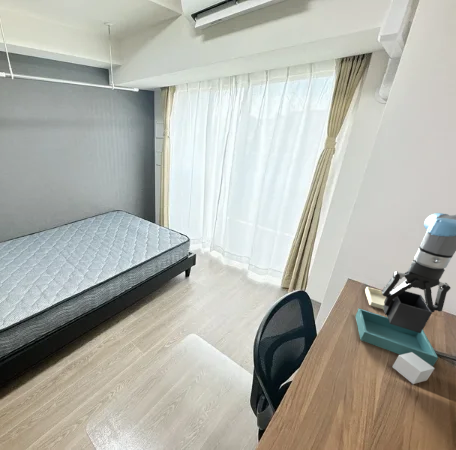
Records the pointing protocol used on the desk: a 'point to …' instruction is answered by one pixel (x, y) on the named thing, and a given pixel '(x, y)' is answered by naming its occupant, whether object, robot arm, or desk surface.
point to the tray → (375, 297)
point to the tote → (393, 336)
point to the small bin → (409, 311)
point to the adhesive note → (413, 367)
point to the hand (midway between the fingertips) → (401, 317)
